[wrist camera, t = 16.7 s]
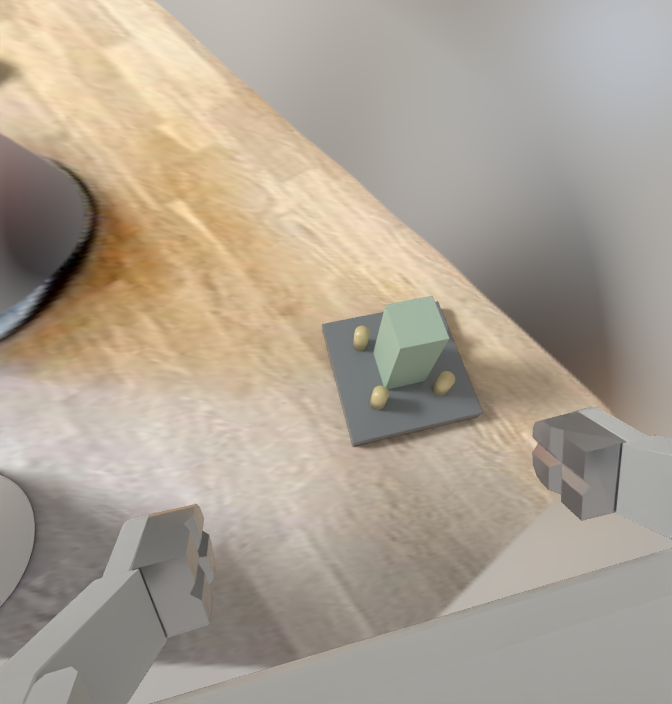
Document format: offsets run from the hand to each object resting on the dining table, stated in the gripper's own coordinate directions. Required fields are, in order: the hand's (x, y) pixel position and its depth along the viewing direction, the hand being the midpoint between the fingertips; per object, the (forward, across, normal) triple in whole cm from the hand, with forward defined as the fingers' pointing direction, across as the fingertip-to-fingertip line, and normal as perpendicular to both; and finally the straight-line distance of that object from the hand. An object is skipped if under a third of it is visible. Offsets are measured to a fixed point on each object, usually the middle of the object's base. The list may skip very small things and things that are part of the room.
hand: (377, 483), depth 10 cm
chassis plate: (+35, -11, +13) cm, 39 cm away
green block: (+34, -11, +12) cm, 38 cm away
